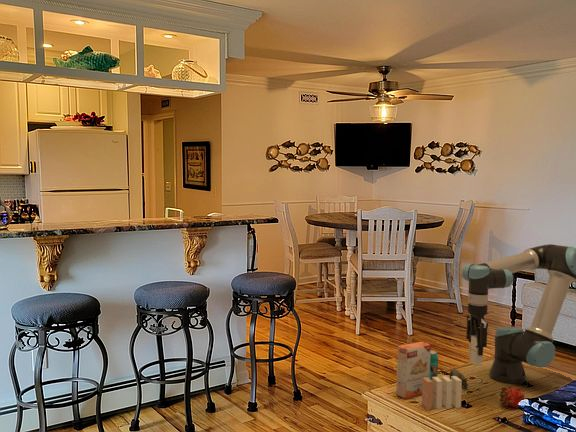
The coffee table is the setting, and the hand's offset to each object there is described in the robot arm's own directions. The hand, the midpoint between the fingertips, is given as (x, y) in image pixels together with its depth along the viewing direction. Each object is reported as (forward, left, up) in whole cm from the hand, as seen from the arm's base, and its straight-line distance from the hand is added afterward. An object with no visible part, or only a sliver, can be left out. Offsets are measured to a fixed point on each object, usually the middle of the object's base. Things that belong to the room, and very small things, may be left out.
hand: (475, 360), depth 223 cm
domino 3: (+15, +5, -16) cm, 22 cm away
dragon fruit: (-12, +8, -16) cm, 22 cm away
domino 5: (0, 0, -1) cm, 1 cm away
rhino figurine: (-1, -14, -16) cm, 22 cm away
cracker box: (+23, -8, -16) cm, 29 cm away
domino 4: (+11, +5, -16) cm, 20 cm away
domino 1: (+23, +5, -16) cm, 28 cm away
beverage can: (+12, -16, -16) cm, 25 cm away
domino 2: (+19, +5, -16) cm, 25 cm away
